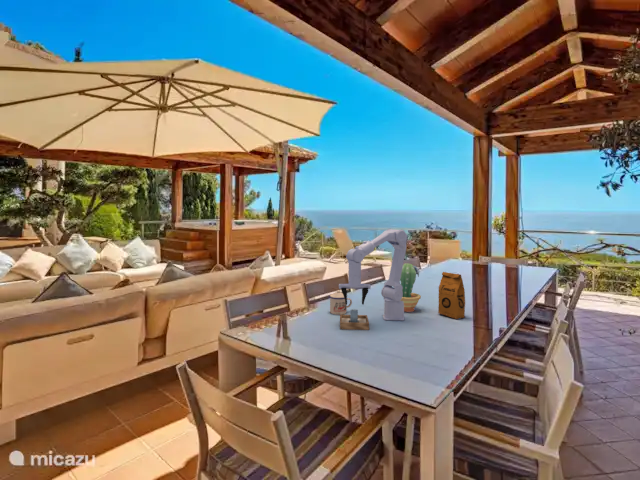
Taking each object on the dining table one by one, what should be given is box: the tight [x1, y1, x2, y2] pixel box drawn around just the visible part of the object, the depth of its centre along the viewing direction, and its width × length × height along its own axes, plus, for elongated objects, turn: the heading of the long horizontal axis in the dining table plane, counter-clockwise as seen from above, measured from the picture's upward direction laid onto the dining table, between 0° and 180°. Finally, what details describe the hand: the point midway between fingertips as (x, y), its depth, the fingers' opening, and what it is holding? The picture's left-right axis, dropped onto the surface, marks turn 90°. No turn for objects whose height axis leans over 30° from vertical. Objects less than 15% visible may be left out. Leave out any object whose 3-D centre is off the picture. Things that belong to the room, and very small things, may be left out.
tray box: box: [339, 314, 370, 331], centre depth 171 cm, size 13×13×3 cm
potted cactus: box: [400, 263, 422, 313], centre depth 198 cm, size 15×15×25 cm
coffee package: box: [437, 271, 466, 320], centre depth 186 cm, size 10×12×22 cm
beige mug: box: [329, 289, 353, 316], centre depth 193 cm, size 12×9×12 cm
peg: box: [349, 308, 359, 323], centre depth 171 cm, size 3×3×7 cm
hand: (354, 304), depth 171 cm, fingers open, 7 cm apart
